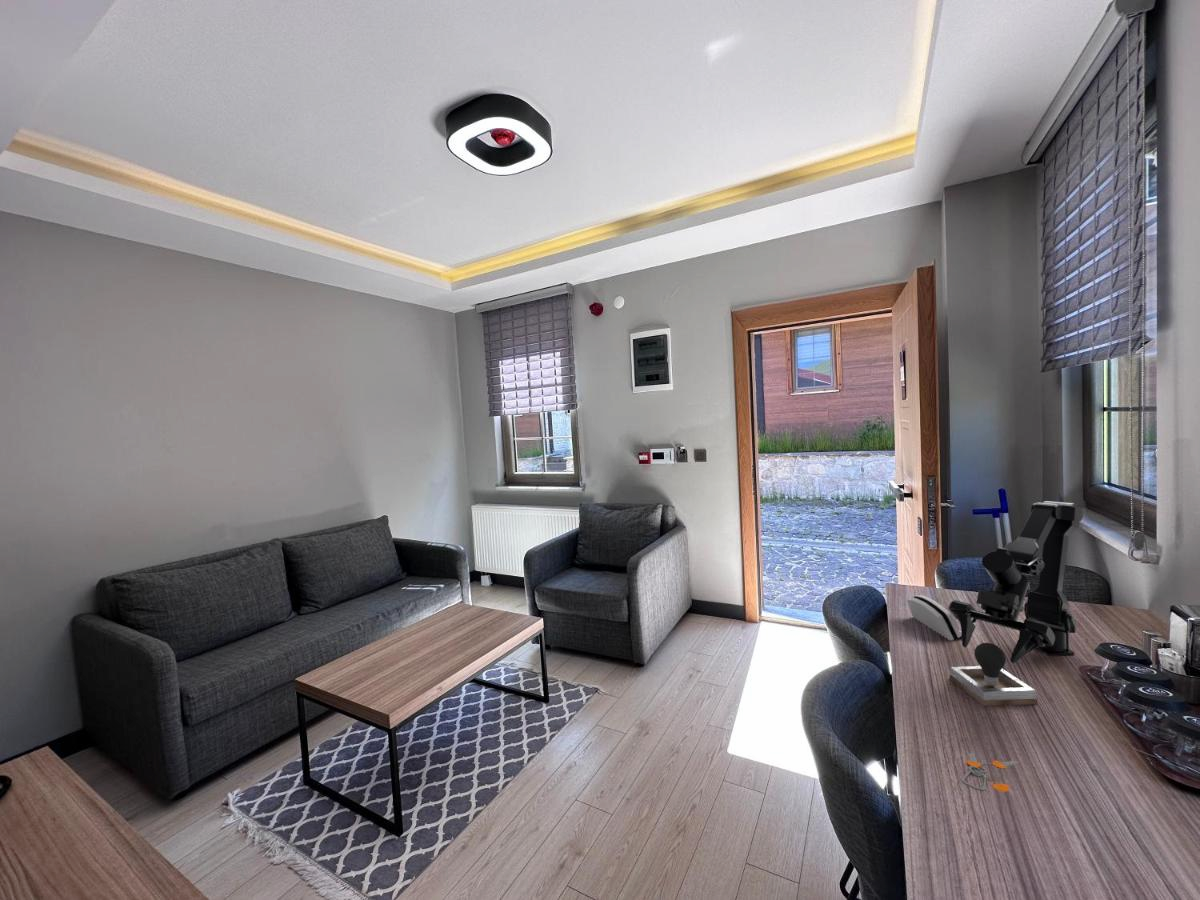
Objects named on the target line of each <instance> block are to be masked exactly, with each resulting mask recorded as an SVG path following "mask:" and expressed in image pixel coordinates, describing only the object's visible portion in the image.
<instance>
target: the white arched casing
mask: <svg viewBox="0 0 1200 900" xmlns="http://www.w3.org/2000/svg"><path fill="white" fill-rule="evenodd" d="M906 601H907V604H908V608H909V611H910V613H911V616H913V617H914V618H916V619H917V620H916V619H915V620H916V621H918V620H919V621H920V622H919V621H918V622H919V623H921V622H922V623H923V625H924V624H925V625H924V626H926V625H927V626H928V628H929V629H930V628H931V629H930V630H932V629H933V630H932V631H933V632H935V631H936V633H937V632H938V633H939V634H938V633H937V634H938V635H940V634H941V635H940V636H941V637H943V636H944V638H945V639H946V638H947V639H946V640H948V639H949V640H948V641H954V640H955V638H960V637H961V636H962V633H961V630H960V629H959V627H958V626H957V625H958V624H956V622H955V620H954V616H953V614H952V613H951V611H950V610H947V609H946V608H945V607H944V606H943V605H941V604H940V603H939V602H937V601H936V600H934V599H932V598H930V597H928V596H925V595H921V594H918V595H914V596H913V597H910V598H908V599H907V600H906ZM913 617H912V618H913ZM914 618H913V619H914ZM922 623H921V624H922ZM927 626H926V627H927ZM961 638H962V637H961Z"/></svg>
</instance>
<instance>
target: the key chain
mask: <svg viewBox="0 0 1200 900" xmlns="http://www.w3.org/2000/svg"><path fill="white" fill-rule="evenodd" d="M967 757H968V759H967V760H966V764H967V765H968V766H969V767H968V771H967V772H966V773H965V774H964V776H963V777H962V778H961V780H960V781H961V782H962V783H963V784H965V785H967V786H968V787H971V788H974V789H977V790H980V791H985V790H986V783H987V782H986V781H987V779H988V781H991V779H990V777H988V776H987V775H986V773H987V769H986V768H985V767H982V766H985V765H991V766H994V767H996V768H998V767H999V769H1003V768H1004V769H1003V770H1005V768H1006V769H1008V767H1009V766H1011V767H1012V766H1015V765H1019V762H1018V761H1016V760H1010V761H1003V762H1002V761H999V760H993V761H992V763H991V762H983V763H980V762H978V761H977V760H976V756H975V753H973V752H969V755H968V756H967ZM981 768H982V769H981ZM970 774H973V775H974V776H976V777H979V778H980V777H981V778H982V779H981V780H983V786H982V787H978V786H975V785H973V784H970V783H968V782H966V781H965V780H966V779H967V777H968V776H969V775H970ZM993 783H994V782H993ZM993 783H991V785H992V784H993ZM991 785H990V786H991ZM999 785H1001V786H999ZM992 788H993V789H995V790H997V791H999V792H1002V793H1003V792H1010V787H1009V786H1008V784H1006V783H1005V784H1002V783H1000V784H998V785H997V783H996V784H994V785H993V787H992Z"/></svg>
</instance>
